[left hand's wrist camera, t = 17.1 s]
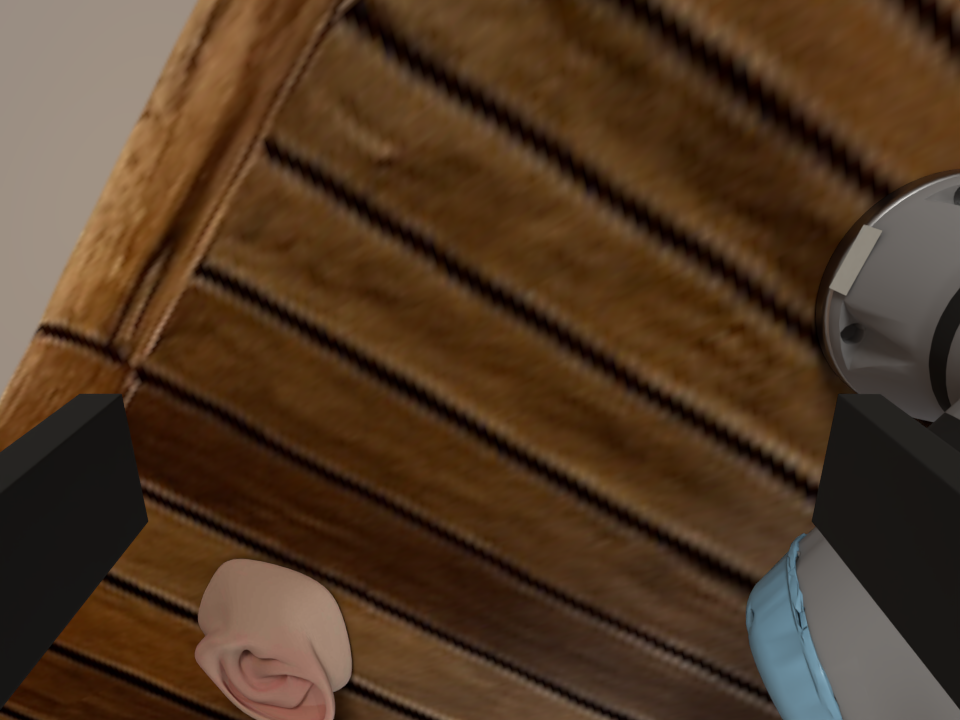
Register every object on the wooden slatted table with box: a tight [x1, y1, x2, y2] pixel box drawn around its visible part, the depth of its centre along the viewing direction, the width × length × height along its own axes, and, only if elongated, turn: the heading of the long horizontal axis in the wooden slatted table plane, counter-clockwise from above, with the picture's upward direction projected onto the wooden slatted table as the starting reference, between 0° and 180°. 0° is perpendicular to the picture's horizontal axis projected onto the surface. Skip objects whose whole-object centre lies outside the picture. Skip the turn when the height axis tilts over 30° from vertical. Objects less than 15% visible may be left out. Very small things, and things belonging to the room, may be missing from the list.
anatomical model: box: [195, 559, 352, 720], centre depth 50 cm, size 13×4×12 cm
